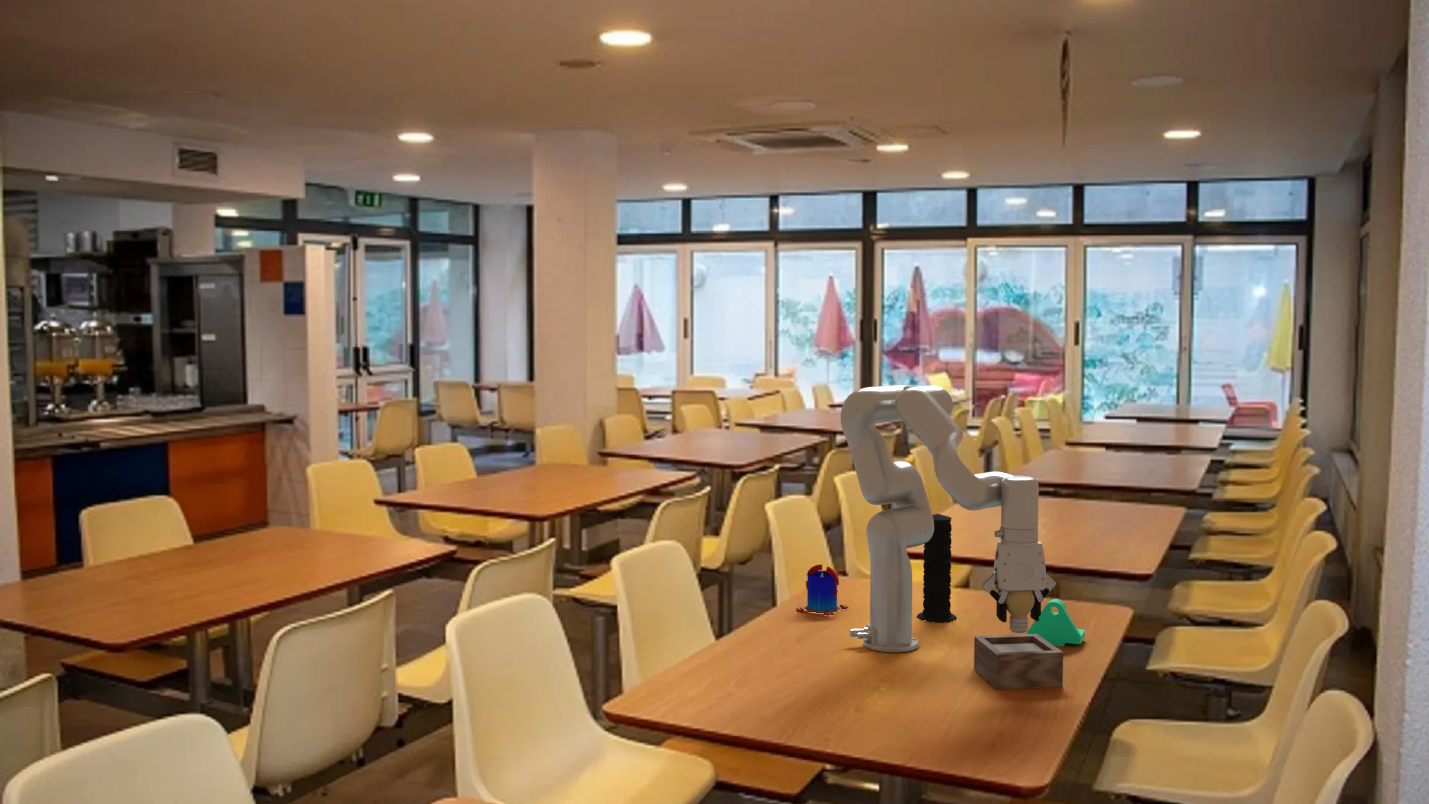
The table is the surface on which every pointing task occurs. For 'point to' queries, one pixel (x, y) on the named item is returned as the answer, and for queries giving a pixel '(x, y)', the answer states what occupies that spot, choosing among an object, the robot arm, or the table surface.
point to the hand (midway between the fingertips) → (1018, 619)
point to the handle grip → (938, 573)
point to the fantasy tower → (822, 591)
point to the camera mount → (1057, 625)
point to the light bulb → (1019, 609)
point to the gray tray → (1018, 661)
